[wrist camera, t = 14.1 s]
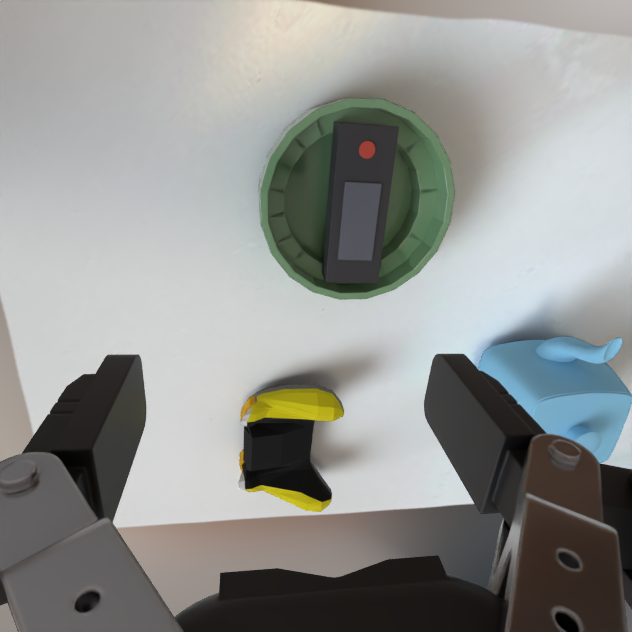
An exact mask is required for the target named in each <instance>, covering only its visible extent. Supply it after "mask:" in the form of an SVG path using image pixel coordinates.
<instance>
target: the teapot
mask: <svg viewBox="0 0 632 632" xmlns="http://www.w3.org/2000/svg"><path fill="white" fill-rule="evenodd" d="M621 345H622V338H616V339H614V340H612V341H611V342H609V343H608V344H606V345H604V346H601V347H596V346H593V345H591V344H589V343H587V342H585V341H582V340H580V339H577V338H573V337H566V336H563V337H554V338H551V339H549V340H524V341H516V342H510V343H504V344H499V345H495V346H492V347H490V348H488V349H486V350H485V351H484V353H483V355H482V357H481V360H480V363H479V367H478V370H479V371H483V372H485V373H486V374H488V375H490V376H491V377H493V378H495V379H496V380H498V381H499V382H500V383H501V384H502V386H503V387H504V388H505V389H506V390H507V391H508V392H509V394H511V395H512V396H513V397H514V398H515V400H516V401H517V404H520V405H521V406H522V407H523V408H524V409H525V410H526V411H527V412H528V414H529V415H530V416H531V417H532V418H533V419H534V420H535V421H536V422H537V423H538V424H539V425H540V426H541V428H542V429H543V430H544V431H545V432H546V433H547V434H555V435H560V436H563V437H566V438H569V439H571V440H573V441H576V442H577V443H579V444H581V445H583V446H584V447H585V448H587V449H588V450H589V451H590V452H592V454H593V455H594V456H595V457H596V458H597V460H598V462H599V463H602V462H604V461H606V460H608V459H609V457H610V455H611V453H612V452H613V450H614V447H615V445H616V443H617V441H618V439H619V436H620V434H621V431H622V429H623V426H624V424H625V421H626V419H627V416H628V413H629V410H630V407H631V404H632V395H631V393H630V392H629V390H628V389H627V387H626V386H625V385H624V383H623V382H622V381H621V379H620V378H619V377H618V375H617V374H616V373H615V372H614V371H613V370H612V368H611V367H610V366H609V365H608V364H607V363H605V362H607V361H609V360H611V359H612V358H613V357H614V356H615V355H616V354H617V352H618V351H619V349H620V347H621Z"/></svg>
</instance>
